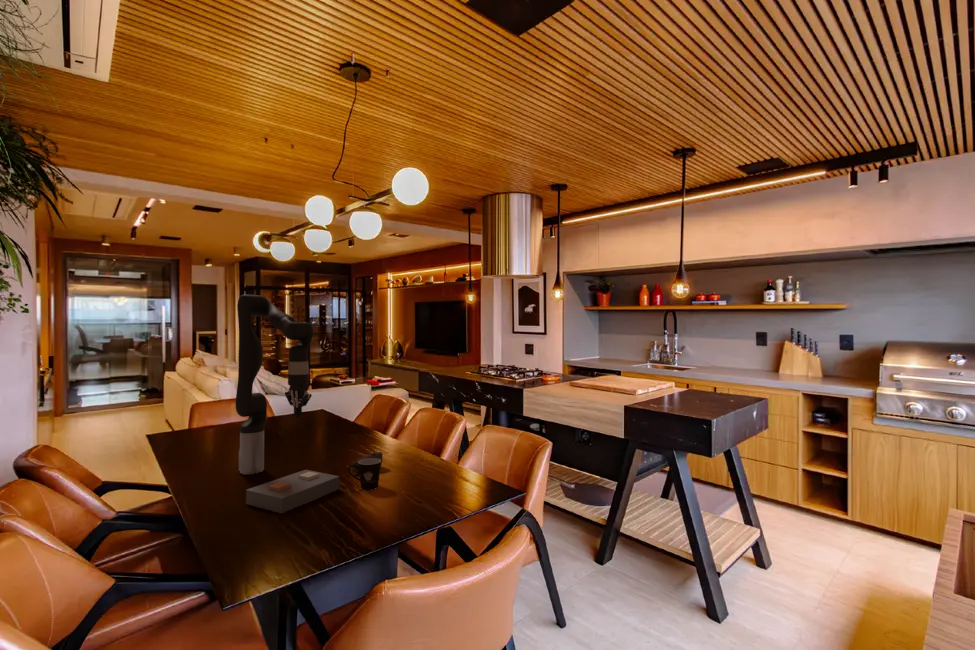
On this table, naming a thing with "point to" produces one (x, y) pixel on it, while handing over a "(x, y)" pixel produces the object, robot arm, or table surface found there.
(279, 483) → the terracotta key
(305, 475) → the offwhite key
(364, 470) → the coffee mug
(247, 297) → the robot arm
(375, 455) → the perforated stone tool
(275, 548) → the table surface
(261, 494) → the key panel
